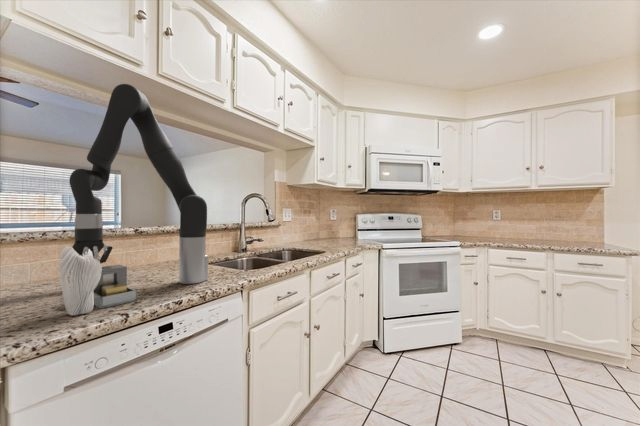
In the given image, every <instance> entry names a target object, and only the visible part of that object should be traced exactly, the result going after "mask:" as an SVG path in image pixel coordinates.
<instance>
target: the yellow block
mask: <svg viewBox="0 0 640 426" xmlns="http://www.w3.org/2000/svg"><path fill="white" fill-rule="evenodd" d="M127 287H128V285H127V286H126V285H124V284H116V285H111V286H105V287H102V297H104V296H109V295H114V294H120V293H125V292H127Z"/></svg>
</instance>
